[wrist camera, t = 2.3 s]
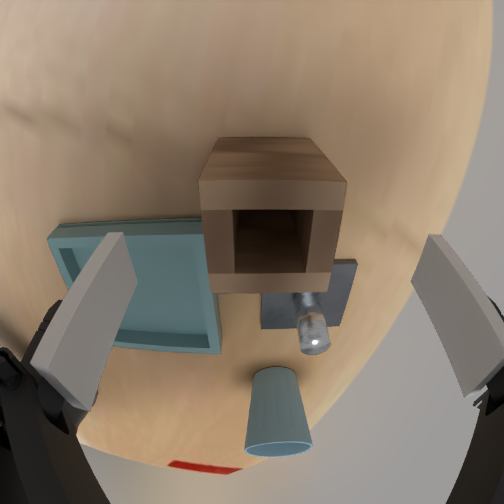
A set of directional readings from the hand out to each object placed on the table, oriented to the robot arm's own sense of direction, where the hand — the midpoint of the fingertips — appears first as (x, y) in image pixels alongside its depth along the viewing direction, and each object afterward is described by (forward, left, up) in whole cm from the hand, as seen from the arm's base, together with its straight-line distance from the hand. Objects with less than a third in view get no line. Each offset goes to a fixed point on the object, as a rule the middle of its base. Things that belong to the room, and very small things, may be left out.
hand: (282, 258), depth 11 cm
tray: (-11, -10, -9) cm, 18 cm away
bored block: (0, 0, -9) cm, 9 cm away
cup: (+2, -26, -10) cm, 28 cm away
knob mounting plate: (+4, -11, -9) cm, 15 cm away
